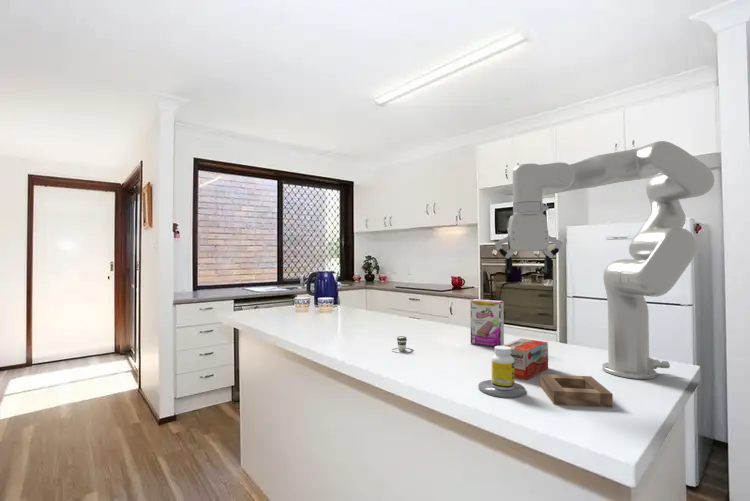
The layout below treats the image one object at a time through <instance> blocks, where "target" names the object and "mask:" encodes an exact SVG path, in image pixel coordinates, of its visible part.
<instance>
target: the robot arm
mask: <svg viewBox="0 0 750 501" xmlns="http://www.w3.org/2000/svg"><path fill="white" fill-rule="evenodd" d="M648 177H651V178H650V179H649V180H648V182H647V184H646V196H647V198H648V201H649V204H650V213H649V215H648V217H647V219H646V220H645V222H644V223H643V224H642V225H641V227H640V228H639V230H638V231H637V233H636V234H635V235H634V236H633V238H632V240H631V241H630V244H629V245H628V252H629V255H630V257H631V258H633V259H629V258H628V259H626V258H625V259H617V260H614V261H612V262H610V263H608V265H606V267H605V269H604V271H603V276H602V278H603V283H604V284H603V285H604V289H605V292H606V300H607V301H606V302H607V344H608V347H607V348H608V353H607V354H608V357H607V358H608V362H604V363H602V364H601V365H602V370H603V371H604V372H606V373H607V374H610V375H614V376H617V377H621V378H627V379H635V380H650V379H654V378H656V377H657V371H656V370H657V368H660V369H670V366H671V365H670V362H669V361H668V360H659V359H654V358H652V357H650V335H649V334H650V327H649V321H650V320H649V318H650V317H649V316H650V315H649V307H648V303H647V300H646V299H645V297H651V298H652V297H653V298H654V297H657V298H658V297H662V296H664V295H665V294H667V293H669V291H671V289H673V287H674V286H675V285H676V283H677V282H678V281H679V279H680V278H681V277H682V275H683V273H685V271H686V270H687V268H688V267H689V265H690V264H691V263H692V260H694V258H695V255H696V253H697V252H696V251H697V240H696V238H695V236H694V235H693V233H692V232H691V231H689V230H687V229H686V228H684V226H685V224H686V220H687V218H686V214H685V212H684V211H685V210H684V209H683V207H682V205H681V202H680V200H684V199H685V200H686V199H691V198H697V197H701V196H704V195H705V194H707V193H709V192H710V191H711V190H712V188H713V187H714V185H715V175H714V173H713V171H712V170H711V169H710V167H709V166H707V165H706V164H705V162H704V163H703V162H702V161H701V160H699V159H698V158H696V157H695V156H694V155H692V154H690V153H689V152H688V151H687V150H684V149H683V148H682V147H680V146H679V145H676V144H674V143H672V142H669V141H665V140H657V141H655V142H652V143H649V144H647V145H644V146H641V147H637V148H632V149H626V150H622V151H614V152H610V153H609V152H608V153H604V154H598V155H595V156H591V157H587V158H586V159H585V158H584V159H583V160H580V161H577V162H575V163H570V164H569V163H566V162H559V161H558V162H552V163H544V164H543V163H542V164H538V163H523V164H518V165H517V166H515V167H514V168H513V170H512V215H510V217H509V219H508V226H507V228H508V229H507V236H506V237H504V238H502V239H500V240H498V241H496V242H495V243H494V246H495V248H496V249H497V251H498V253H499V254H500V255H501V256H502V257H503V258H504V259H505V271H507V273H508V274H512V273H513V258H512V256H513V254H514V253H515V252H541V253H542V254H543V255H544V256H545V258H544V259H543V266H544V267H543V272H544V273H545V274H550V273H551V271H552V269H553V261H552V260H553V258H554V257H555V256H556V254H558V253H559V251H560V249H561V248H562V246H563V241H561V240H559V239H557V238H555V237H552V236H550V235H549V227H548V221H547V216H546V214H543V213H544V212H545V211H548V210H549V205H545V204H544V202H543V196H547V195H548V196H549V195H553V194H558V193H564V192H570V191H575V190H581V189H589V188H590V189H591V188H597V187H602V186H607V185H612V184H618V183H623V182H629V181H635V180H640V179H643V178H644V179H645V178H648ZM505 243H507V249H508V250H507V251H505V249H503V244H505ZM550 243H552V244H554V246H553V248H552V249H551V250H549V248H550Z"/></svg>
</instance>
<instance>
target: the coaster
mask: <svg viewBox="0 0 750 501" xmlns="http://www.w3.org/2000/svg"><path fill="white" fill-rule="evenodd" d="M514 383H515V384H514V389H512V390H499V389H496V388H494V387H493V386H492V379H487V380H483V381H480V382H479V383H478V386H477V387H478V390H479V391H480V392H482V393H483V394H485V395H489V396H492V397H495V398H504V399H510V398H513V399H515V398H519V397H522V396H524V395H525V394H526V388H525V387H524V386H523V385H522V384H520V383H518V382H514Z"/></svg>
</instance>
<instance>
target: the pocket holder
mask: <svg viewBox="0 0 750 501" xmlns="http://www.w3.org/2000/svg"><path fill="white" fill-rule="evenodd" d="M539 387H540V388H541V390H543V392H544V394H546V396H547V397H548V399H549V400H550V401H551V402H552V404H553V405H558V406H559V405H560V406H573V407H574V406H575V407H576V406H577V407H591V408H592V407H593V408H594V407H596V408H610V409H611V408H613V407H614V406H613V404H614V403H613V402H614V401H613V399H614V396H613V393H612V392H611V391H610V390H608V389H607V388H606V387H605V386H604V385H603V384H601V383H600V382H599V381H597V380H596V379H595V378H594V377H592V375H572V374H571V375H570V374H569V375H565V374H549V373H547V374H546V373H545V374H543V373H539Z"/></svg>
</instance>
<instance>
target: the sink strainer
mask: <svg viewBox="0 0 750 501" xmlns="http://www.w3.org/2000/svg"><path fill="white" fill-rule="evenodd" d="M407 339H408V338H407V336H403V335H400V336H397V338H396V341H397V346H398V347H396V348H392V349H391V352H392V353H396V354H400V352H406V350H410V351H409V352H408V354H410V353H413V352H414V349H413V348H409V347H407V341H408V340H407ZM395 350H398V351H399V352H397V351H395Z"/></svg>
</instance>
